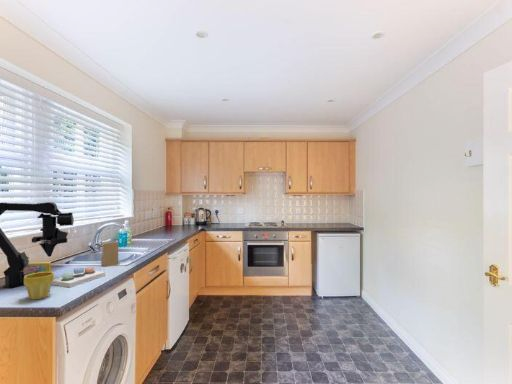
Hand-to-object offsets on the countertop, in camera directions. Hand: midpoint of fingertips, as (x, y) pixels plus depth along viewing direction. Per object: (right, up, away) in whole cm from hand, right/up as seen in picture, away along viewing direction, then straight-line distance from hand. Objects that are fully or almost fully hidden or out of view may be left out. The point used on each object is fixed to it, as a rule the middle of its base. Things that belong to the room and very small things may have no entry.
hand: (49, 256), depth 141 cm
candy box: (-14, -14, +7) cm, 20 cm away
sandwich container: (+11, -14, +36) cm, 41 cm away
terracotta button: (+16, -10, +8) cm, 21 cm away
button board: (+14, -13, +2) cm, 19 cm away
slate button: (+14, -9, +2) cm, 17 cm away
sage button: (+12, -10, -3) cm, 16 cm away
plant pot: (+12, -13, -21) cm, 27 cm away
